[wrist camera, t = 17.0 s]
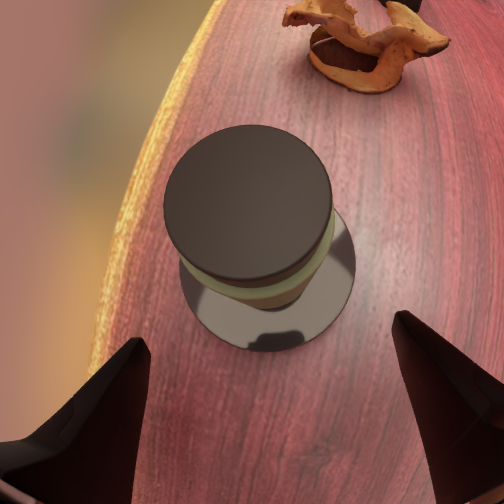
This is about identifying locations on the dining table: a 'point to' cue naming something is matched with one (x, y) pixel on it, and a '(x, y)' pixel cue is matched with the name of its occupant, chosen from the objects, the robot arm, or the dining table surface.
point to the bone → (367, 41)
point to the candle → (406, 3)
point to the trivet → (284, 317)
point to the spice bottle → (251, 214)
